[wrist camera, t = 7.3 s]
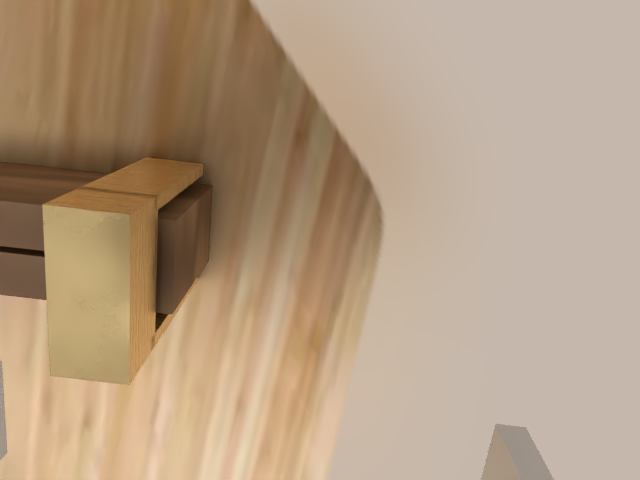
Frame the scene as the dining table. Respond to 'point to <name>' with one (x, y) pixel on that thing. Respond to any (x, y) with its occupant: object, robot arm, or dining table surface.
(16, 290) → the base
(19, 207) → the tong arm
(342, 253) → the dining table surface
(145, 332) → the lock collar
